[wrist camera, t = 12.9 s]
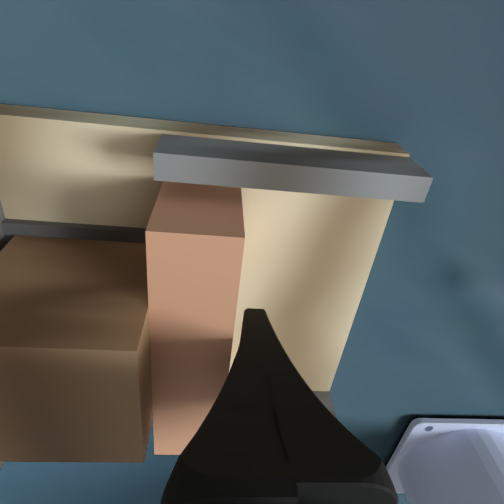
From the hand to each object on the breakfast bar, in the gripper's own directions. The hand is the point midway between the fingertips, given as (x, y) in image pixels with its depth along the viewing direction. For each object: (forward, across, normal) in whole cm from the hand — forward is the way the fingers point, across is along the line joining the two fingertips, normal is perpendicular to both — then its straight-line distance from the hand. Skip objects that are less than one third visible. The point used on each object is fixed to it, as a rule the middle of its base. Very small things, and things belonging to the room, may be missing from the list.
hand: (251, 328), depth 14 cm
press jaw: (+1, +2, 0) cm, 2 cm away
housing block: (+1, +6, 0) cm, 6 cm away
